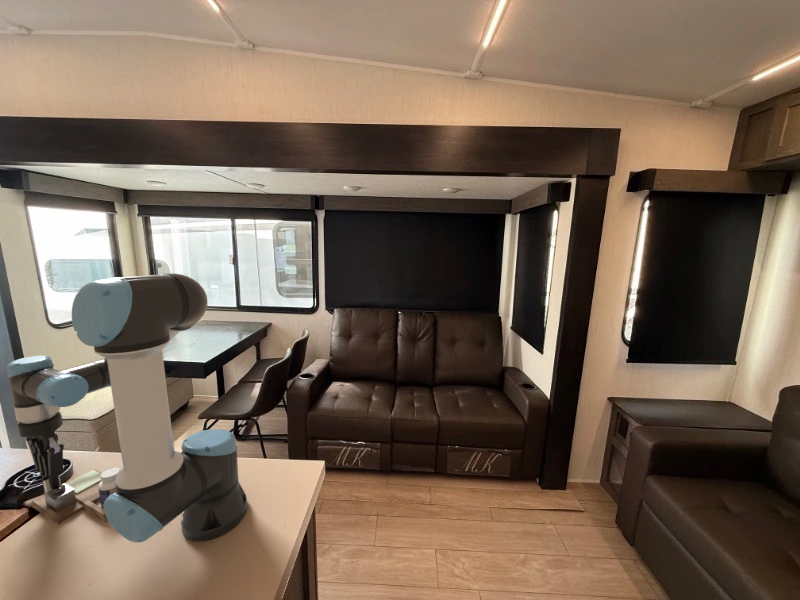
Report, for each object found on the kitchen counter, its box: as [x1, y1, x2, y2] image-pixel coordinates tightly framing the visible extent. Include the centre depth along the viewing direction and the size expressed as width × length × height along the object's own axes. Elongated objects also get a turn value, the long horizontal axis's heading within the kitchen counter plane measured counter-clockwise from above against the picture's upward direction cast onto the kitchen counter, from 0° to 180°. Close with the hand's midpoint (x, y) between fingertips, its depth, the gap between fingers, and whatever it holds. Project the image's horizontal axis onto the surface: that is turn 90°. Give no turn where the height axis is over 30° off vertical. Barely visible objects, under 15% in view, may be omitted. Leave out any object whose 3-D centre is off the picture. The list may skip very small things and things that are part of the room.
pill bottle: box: [98, 467, 121, 509], centre depth 88 cm, size 5×5×10 cm
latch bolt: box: [43, 483, 76, 513], centre depth 86 cm, size 5×4×5 cm
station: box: [29, 468, 109, 525], centre depth 89 cm, size 24×14×2 cm, turn 68°
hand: (54, 496), depth 87 cm, fingers closed
